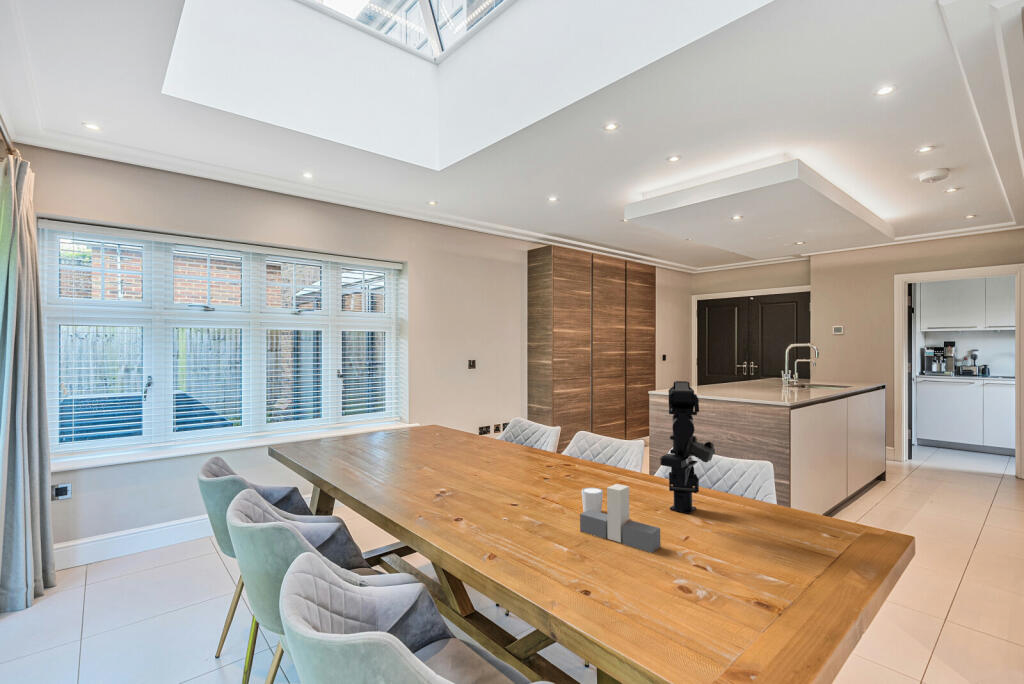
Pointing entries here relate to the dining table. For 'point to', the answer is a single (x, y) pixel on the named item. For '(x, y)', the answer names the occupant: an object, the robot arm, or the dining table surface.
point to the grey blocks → (632, 531)
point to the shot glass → (592, 499)
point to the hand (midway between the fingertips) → (683, 485)
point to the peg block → (617, 511)
